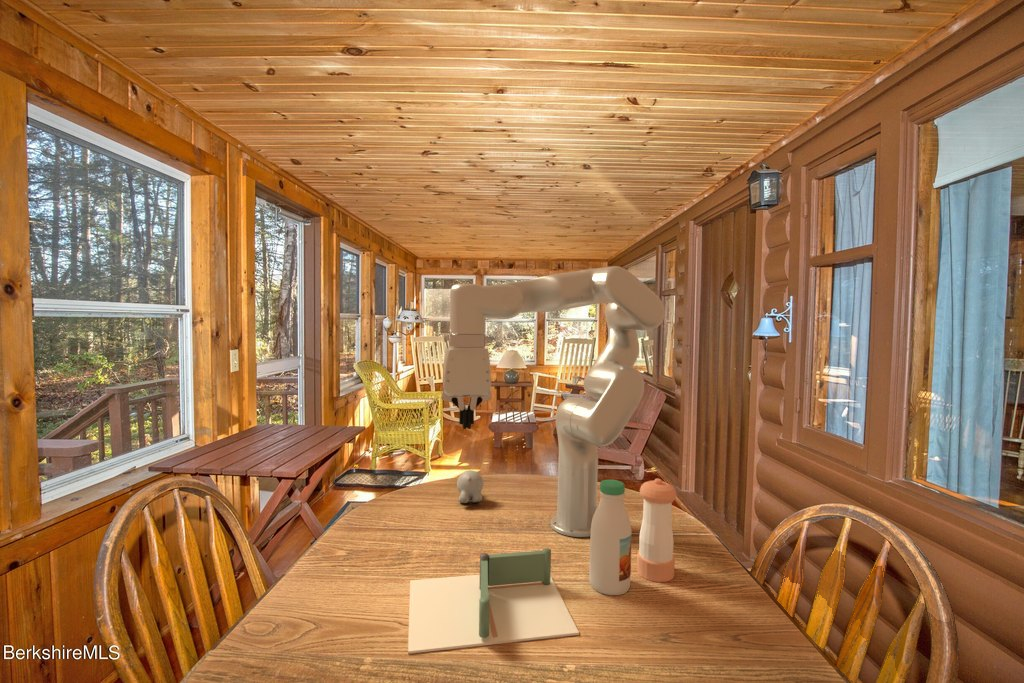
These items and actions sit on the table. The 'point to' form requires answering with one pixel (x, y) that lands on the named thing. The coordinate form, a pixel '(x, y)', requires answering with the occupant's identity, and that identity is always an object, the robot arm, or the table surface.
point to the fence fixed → (518, 567)
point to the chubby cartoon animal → (470, 487)
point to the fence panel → (484, 602)
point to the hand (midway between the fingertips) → (466, 427)
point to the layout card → (455, 613)
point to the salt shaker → (656, 532)
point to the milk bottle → (610, 541)
